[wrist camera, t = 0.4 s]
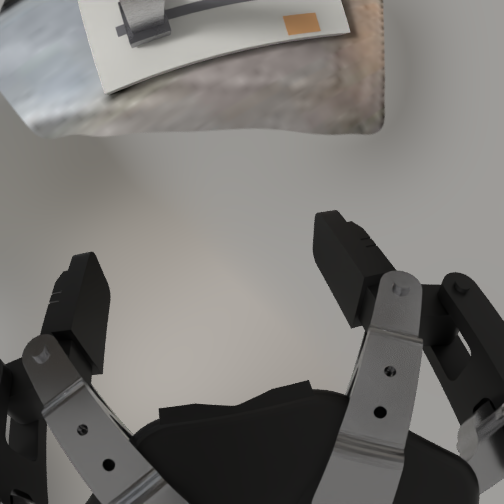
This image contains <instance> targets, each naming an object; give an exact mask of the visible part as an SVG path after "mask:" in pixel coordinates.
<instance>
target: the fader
mask: <svg viewBox="0 0 504 504" xmlns="http://www.w3.org/2000/svg"><path fill="white" fill-rule="evenodd" d="M119 1H120V2H118V5H119V9H120V12H121V16H122V19H123V23H124V26H125V29H126V33H127V36H128V39H129V43H130V45H131V47H132V48H134V47H137V46H139V45H142V44H145V43H148V42H151V41H154V40H157V39H160V38H163V37H166V36H169V35H171V27H170V24H169V21H168V18H167V15H166V11H165V8H164V0H119Z"/></svg>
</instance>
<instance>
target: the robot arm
mask: <svg viewBox="0 0 504 504" xmlns="http://www.w3.org/2000/svg"><path fill="white" fill-rule="evenodd" d="M313 255H314V259H315V262H316V264H317V266H318V268H319V270H320V271H321V273H322V275H323V277H324V278H325V280H326V282H327V284H328V286H329V287H330V290H331V291H332V293H333V295H334V297H335V299H336V300H337V302H338V304H339V306H340V308H341V310H342V312H343V314H344V316H345V317H346V319H347V321H348V323H349V325H350V327H351V328H355V327H358V326H363V327H364V329H365V333H364V336H363V339H362V343H361V347H360V350H359V354H358V357H357V360H356V364H355V367H354V370H353V374H352V377H351V380H350V383H349V386H348V388H347V391H346V394H345V395H344V394H341V393H337V392H334V391H328V390H319V389H312V388H311V385H310V382H309V380H307V381H303V382H299V383H295V384H292V385H287V386H283V387H279V388H275V389H271V390H269V391H267V392H265V393H263V394H261V395H259V396H257V397H255V398H253V399H250V400H248V401H246V402H244V403H242V404H239V405H236V406H222V405H206V404H190V405H182V406H175V407H167V408H159V418H160V419H157V420H155V421H153V422H151V423H149V424H147V425H146V426H144V427H143V428H141V429H140V430H139V431H138V432H136V434H134V435H133V434H132V433H131V431H130V430H129V429H128V428H127V427H126V426H125V425H124V424H123V423H122V422H121V421H120V419H119V418H118V417H117V416H116V415H115V413H114V412H113V411H112V410H111V408H110V407H109V406H108V405H107V403H106V402H105V401H104V400H103V398H102V397H101V396H100V394H99V393H98V392H97V391H96V389H95V388H94V387H93V385H92V384H91V377H92V375H97V374H103V363H104V351H105V341H106V331H107V322H108V314H109V307H110V290H109V286H108V283H107V280H106V278H105V276H104V274H103V271H102V269H101V267H100V264H99V262H98V260H97V257H96V255H95V254H94V252H88V253H83V254H78V255H74V256H73V257H72V260H71V263H70V266H69V269H68V271H64V272H63V273H62V274H61V275H60V277H59V278H58V279H57V281H56V282H55V285H54V289H53V292H52V295H51V298H50V301H49V302H50V304H49V305H48V308H47V312H46V315H45V319H44V323H43V326H42V330H41V334H40V335H39V336H37V337H35V338H33V339H32V340H31V341H30V342H29V343H28V344H27V345H26V347H25V349H24V351H23V354H22V357H21V358H19V359H17V360H14V361H12V362H10V363H8V364H4V363H3V362H2V360H1V359H0V504H48V493H47V475H46V474H47V472H46V432H47V424H48V426H49V427H50V429H51V431H52V433H53V434H54V436H55V438H56V439H57V441H58V443H59V444H60V446H61V447H62V449H63V450H64V452H65V454H66V455H67V457H68V458H69V460H70V461H71V463H72V464H73V465H74V467H75V469H76V470H77V471H78V473H79V474H80V476H81V477H82V478H83V480H84V481H85V482H86V484H87V485H88V487H89V488H90V489H91V491H92V492H93V494H92V495H91V496H90V498H89V499H88V501H87V502H86V504H479V495H480V494H481V493H483V492H484V491H486V490H487V489H489V488H490V487H492V486H493V485H495V484H496V483H497V482H499V481H500V480H502V479H503V478H504V321H503V320H502V318H501V317H500V315H499V314H498V313H497V311H496V310H495V308H494V307H493V306H492V304H491V303H490V302H489V300H488V299H487V297H486V296H485V295H484V293H483V292H482V291H481V290H480V288H479V287H478V286H477V284H476V283H475V282H474V281H473V280H472V279H471V278H469V277H468V276H466V275H464V274H461V273H456V272H455V273H449V274H447V275H446V276H445V277H444V279H443V281H442V284H441V285H426V284H420V282H419V281H418V279H416V278H415V277H414V276H413V275H411V274H409V273H407V272H403V271H396V269H395V268H394V267H393V265H392V264H391V263H390V262H389V260H388V259H387V258H386V257H385V255H384V254H383V253H382V251H381V250H380V249H379V248H378V246H376V244H375V243H374V241H373V240H372V239H370V236H369V235H368V234H367V233H366V231H365V230H364V229H363V228H362V227H360V226H358V225H357V224H355V223H353V222H352V221H350V222H346V220H345V219H344V218H343V217H342V215H341V214H340V213H339V212H338V211H337V210H333V211H327V212H320V213H317V214H316V215H315V222H314V237H313ZM459 331H460V332H461V334H462V336H463V337H464V339H465V341H466V342H467V344H468V346H469V347H470V350H471V356H470V354H469V353H468V351H467V349H466V348H465V346H464V344H463V343H462V341H461V339H460V338H459V336H458V332H459ZM422 349H423V351H424V353H425V354H426V356H427V358H428V360H429V362H430V364H431V366H432V367H433V370H434V372H435V374H436V376H437V378H438V379H439V381H440V383H441V385H442V387H443V390H444V392H445V394H446V396H447V398H448V400H449V402H450V404H451V406H452V408H453V410H454V412H455V415H456V417H457V419H458V421H459V423H460V429H459V431H458V443H457V450H458V452H459V453H460V456H458V455H456V454H454V453H452V452H450V451H448V450H446V449H444V448H442V447H440V446H438V445H436V444H434V443H432V442H430V441H428V440H426V439H424V438H422V437H421V436H419V435H417V434H415V433H413V432H411V431H410V430H409V426H410V421H411V417H412V411H413V406H414V401H415V396H416V390H417V384H418V378H419V371H420V364H421V357H422ZM7 414H8V415H9V416H10V417H11V421H10V433H9V445H8V444H7V441H6V437H5V432H6V421H7Z"/></svg>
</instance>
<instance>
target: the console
mask: <svg viewBox="0 0 504 504" xmlns="http://www.w3.org/2000/svg"><path fill="white" fill-rule="evenodd" d="M118 2H120V1H119V0H78V4H79V8H80V12H81V16H82V19H83V23H84V27H85V31H86V34H87V38H88V41H89V45H90V48H91V52H92V55H93V58H94V62H95V65H96V68H97V71H98V75H99V78H100V81H101V84H102V87H103V90H104V93H105V94H107V95H110V94H112V93H115V92H117V91H119V90H122V89H124V88H127V87H129V86H132V85H134V84H137V83H139V82H142V81H145V80H147V79H150V78H153V77H156V76H158V75H161V74H164V73H167V72H170V71H173V70H176V69H179V68H182V67H185V66H189V65H192V64H195V63H199V62H202V61H206V60H209V59H213V58H217V57H220V56H224V55H228V54H232V53H236V52H241V51H245V50H249V49H254V48H259V47H264V46H269V45H274V44H280V43H285V42H291V41H298V40H305V39H312V38H320V37H328V36H338V35H343V34H347V33H350V29H349V25H348V22H347V18H346V15H345V12H344V8H343V5H342V2H341V0H164V8H165V11H166V15H167V18H168V21H169V24H170V27H171V35H169V36H166V37H163V38H160V39H157V40H154V41H151V42H148V43H145V44H142V45H139V46H137V47H134V48H132V47H131V45H130V43H129V39H128V36H127V33H126V29H125V26H124V23H123V19H122V16H121V12H120V9H119V5H118Z"/></svg>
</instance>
